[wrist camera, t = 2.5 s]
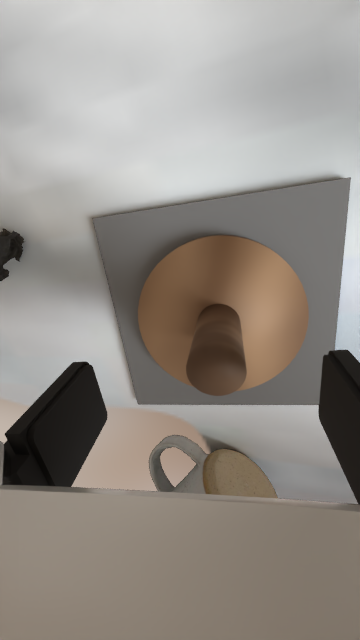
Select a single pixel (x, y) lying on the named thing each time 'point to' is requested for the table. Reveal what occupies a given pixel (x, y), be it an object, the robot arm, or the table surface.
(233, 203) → the mat
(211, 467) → the ceramic mug
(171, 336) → the lid
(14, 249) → the artificial flower
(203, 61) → the table surface
